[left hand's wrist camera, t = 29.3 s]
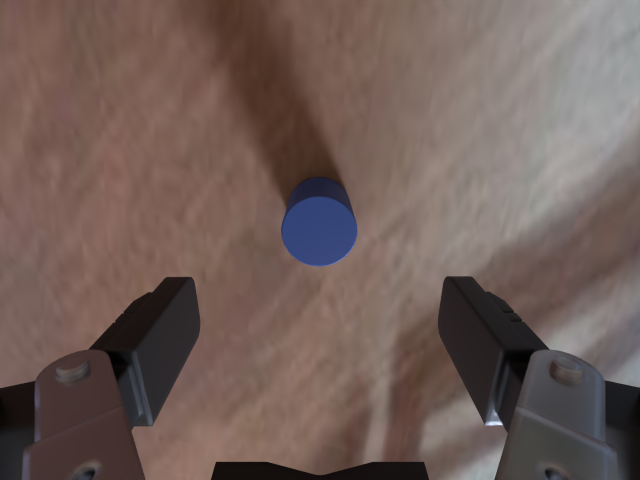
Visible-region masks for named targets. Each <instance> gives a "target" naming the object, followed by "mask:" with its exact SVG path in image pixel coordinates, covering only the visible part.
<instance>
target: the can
mask: <svg viewBox="0 0 640 480" xmlns="http://www.w3.org/2000/svg"><path fill="white" fill-rule="evenodd" d="M281 234H282V239H283V242H284V245H285V247H286V248H287V250H288V251H289V253H290V254H291V255H292V256H293V257H294V258H296V259H297V260H299V261H300V262H302V263H305V264H307V265H311V266H327V265H331V264H334V263H336V262H338V261H340V260H341V259H343V258H344V257H345V256H346V255H347V254H348V253H349V252H350V251H351V249H352V248H353V246H354V244H355V241H356V237H357V224H356V220H355V217H354V213H353V210H352V207H351V203H350V200H349V197H348V195H347V193H346V191H345V190H344V188H343V187H342V186H341V185H340V184H338V183H337V182H335V181H334V180H331V179H329V178H324V177H315V178H310V179H307V180H305V181H303V182H302V183H300V184H299V185H298V186H297V187H296V188H295V189H294V191H293V192H292V194H291V197H290V200H289V203H288V206H287V209H286V212H285V216H284V219H283V222H282V228H281Z"/></svg>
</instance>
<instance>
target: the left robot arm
mask: <svg viewBox="0 0 640 480" xmlns="http://www.w3.org/2000/svg"><path fill="white" fill-rule="evenodd" d="M115 321H116V322H115V323H113V324H112V325H111V326H110V327H109V328H108V329H107V330H106V331H105V332H104V333H103V334H102V335H101V336H100V338H99V339H98V340H97V341H96V342H95V343H94V344H93V345H92V346H91V347H90V348H89V349H88V350H83V351H78V352H75V353H71V354H69V355H66V356H64V357H62V358H60V359H58V360H56V361H54V362H53V363H51V364H50V365H48V366H47V367H46V368H45V369H43V370H42V372H41V373H40V374H39V375H38V376H37V378H36V380H35V381H33V382H28V383H23V384H18V385H14V386H9V387H4V388H0V480H145V476H144V473H143V469H142V466H141V463H140V459H139V456H138V452H137V449H136V445H135V442H134V439H133V435H132V432H131V431H132V429H133V427H134V426H153V424H154V422H155V420H156V418H157V416H158V414H159V412H160V410H161V408H162V406H163V404H164V402H165V400H166V399H167V397H168V395H169V393H170V391H171V389H172V387H173V385H174V383H175V381H176V379H177V377H178V375H179V373H180V371H181V370H182V368H183V366H184V364H185V362H186V360H187V358H188V356H189V354H190V352H191V350H192V348H193V346H194V344H195V343H196V341H197V338H198V336H199V331H200V315H199V308H198V302H197V295H196V288H195V283H194V280H193V278H192V277H166V278H165V279H164V280H163V281H162V282H161V283H160V284H159V286H158V287H157V288H156V289H155V290H154V291H153V292H148V293H147V294H145V295H143V296H142V297H140V298H138V299H136V300H135V301H133V302H132V303H131V304H130V305H129V307H128V308H127V309H126V310H125V311H124V314H121V315H120V316H119V317H118V318H117V319H116V320H115ZM438 330H439V334H440V337H441V340H442V342H443V344H444V345H445V347H446V349H447V351H448V353H449V355H450V357H451V359H452V361H453V363H454V365H455V367H456V369H457V371H458V373H459V375H460V377H461V379H462V381H463V383H464V385H465V387H466V388H467V390H468V392H469V394H470V396H471V398H472V400H473V402H474V404H475V406H476V408H477V410H478V412H479V414H480V416H481V418H482V420H483V422H484V424H485V425H503V426H504V427H505V429H506V431H507V433H508V435H507V439H506V442H505V445H504V449H503V452H502V456H501V459H500V463H499V466H498V469H497V473H496V476H495V480H640V388H638V387H633V386H629V385H624V384H619V383H615V382H610V381H605V380H604V378H603V376H602V375H601V374H600V373H599V372H598V370H597V369H595V368H594V367H593V366H592V365H590V364H589V363H587V362H586V361H584V360H582V359H580V358H578V357H576V356H574V355H571V354H569V353H565V352H562V351H557V350H550V349H549V348H548V347H547V346H546V345H545V344H544V343H543V342H542V341H541V340H540V339H539V338H538V336H537V335H536V334H535V333H534V332H533V331H532V330H531V329H530V328H529V327H528V326H527V325H526V324H525V322H522V319H521V318H520V317H519V316H518V315H517V314H516V313H514V311H513V309H512V308H511V307H510V306H509V305H508V304H507V303H506V302H505V301H504V300H502V299H501V298H499V297H497V296H496V295H494V294H492V293H491V292H485V291H484V290H483V289H482V288H481V286H480V285H479V284H478V283H477V282H476V281H475V279H474V278H473V277H470V276H447V277H446V278H445V280H444V283H443V289H442V295H441V302H440V309H439V316H438ZM211 480H429V478H428V474H427V471H426V467H425V464H424V462H371V463H367V464H363V465H360V466H356V467H352V468H348V469H345V470H341V471H337V472H333V473H330V474H326V475H314V474H310V473H307V472H303V471H299V470H295V469H292V468H288V467H284V466H280V465H277V464H273V463H269V462H216V464H215V467H214V471H213V474H212V478H211Z"/></svg>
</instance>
